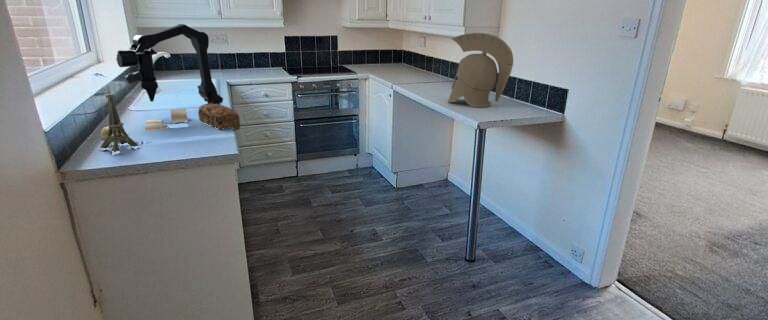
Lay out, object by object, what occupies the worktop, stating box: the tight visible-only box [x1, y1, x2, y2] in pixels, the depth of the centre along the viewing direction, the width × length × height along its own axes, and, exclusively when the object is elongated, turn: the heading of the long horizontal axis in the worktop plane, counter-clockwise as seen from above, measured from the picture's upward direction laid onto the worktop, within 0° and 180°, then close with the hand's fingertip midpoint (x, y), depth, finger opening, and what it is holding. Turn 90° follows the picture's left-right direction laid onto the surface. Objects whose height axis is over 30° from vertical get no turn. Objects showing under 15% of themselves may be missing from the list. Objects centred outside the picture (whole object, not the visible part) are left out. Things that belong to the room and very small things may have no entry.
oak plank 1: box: [144, 118, 163, 126], centre depth 193 cm, size 8×6×2 cm
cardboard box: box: [144, 123, 174, 132], centre depth 188 cm, size 9×17×2 cm, turn 116°
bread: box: [197, 103, 241, 131], centre depth 193 cm, size 19×11×10 cm, turn 46°
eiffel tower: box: [99, 82, 139, 152], centre depth 159 cm, size 11×11×25 cm
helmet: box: [447, 32, 514, 108], centre depth 246 cm, size 20×36×40 cm, turn 64°
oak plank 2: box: [170, 108, 189, 124], centre depth 196 cm, size 8×6×2 cm
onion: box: [100, 123, 122, 140], centre depth 171 cm, size 8×8×7 cm
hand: (151, 101), depth 192 cm, fingers closed
